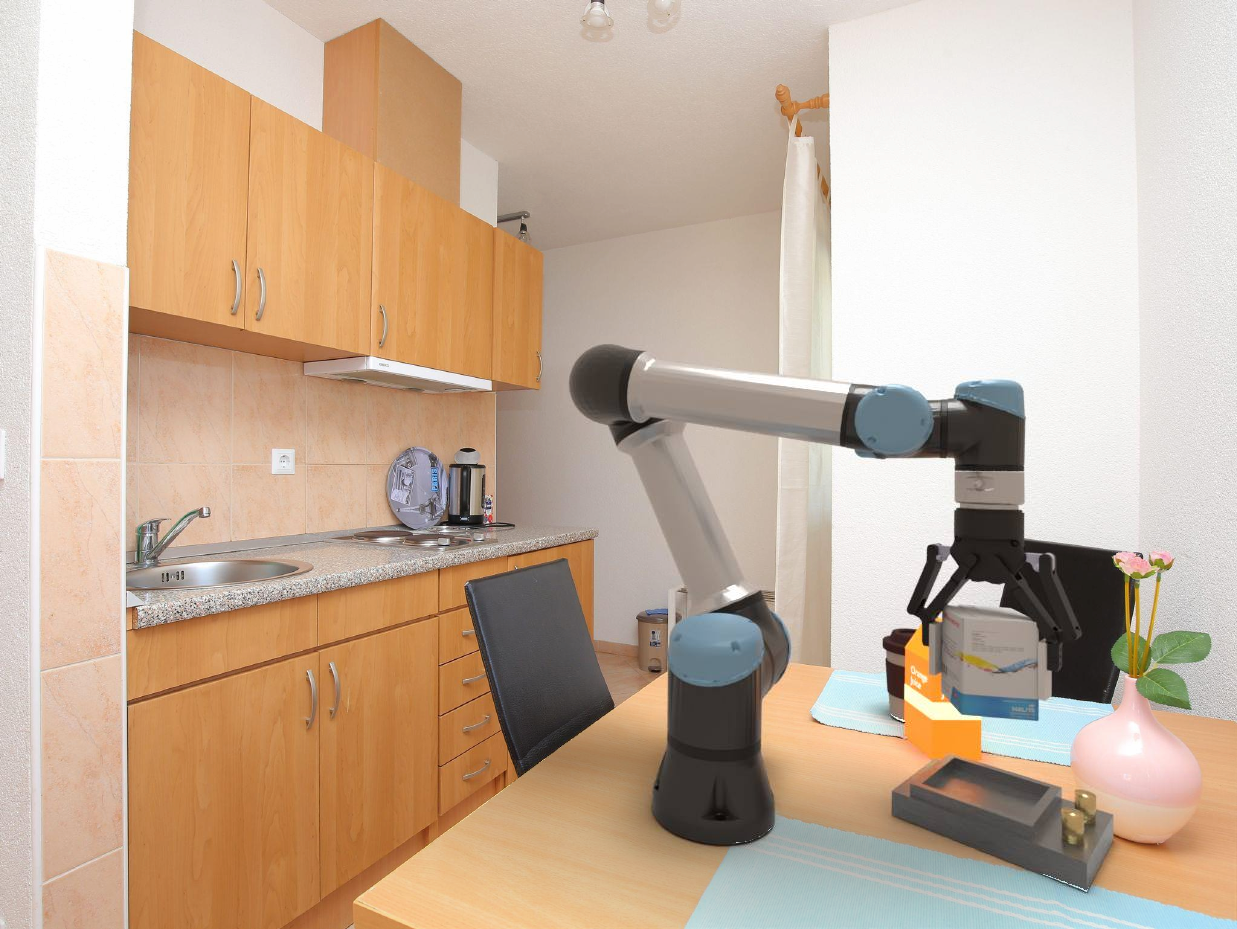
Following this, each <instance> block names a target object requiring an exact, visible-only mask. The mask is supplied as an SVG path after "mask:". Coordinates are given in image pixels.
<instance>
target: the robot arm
mask: <svg viewBox="0 0 1237 929" xmlns="http://www.w3.org/2000/svg"><path fill="white" fill-rule="evenodd" d="M568 379H569V380H568V388H569V390H568V391H569V394H570V398H571V401H572V403H573V404H574V407H575V408H576V409H577V410H578V411H579V412H580V414H582V415H583V416H584V417H585V418H586V419H589V420H590V421H592V422H594V423H598V424H601V425H605V426H608V428H609V429H608V430H609V431H610V434H611V436H612V439H613V441H614V443H615V446H616V449H617V450H618V452H621V453H622V454H626V455H628V456H629V457H631V458H632V462H633V464H634V467H635V469H636V471H637V473H638V476H639V478H640V481H641V483H642V486H643V489H644V491H645V493H646V495H647V497H648V501H649V503H650V505H651V507H652V510H653V512H654V514H655V517H656V519H657V522H658V525H659V528H660V529H661V531H662V534H663V536H664V539H665V542H666V543H667V546H668V548H669V551H670V553H671V556H672V559H673V561H674V564H675V567H676V568H677V571H678V574H679V575H680V578H681V580H682V583H683V585H684V588H685V590H686V592H687V595H688V597H689V599H690V607H689V609H688V612H687V614H686V617H685V618H683V619H681V620H680V621H678V622H677V623H676V624H675V625H674V626H673V627H672V629H671V631H670V632H669V633H670V634H669V640H668V647H667V651H666V652H667V653H666V660H667V710H666V711H667V715H666V716H667V719H666V720H667V722H666V725H667V726H666V728H667V731H666V732H667V734H666V735H667V737H666V747H665V750H664V753H663V756H662V760H661V762H660V765H659V768H658V771H657V775H656V779H654V782H653V786H652V794H651V798H652V799H651V800H652V801H651V809H652V813H653V816H654V817H655V819H656V820H657V822H658V823H659V824H660V825H661V826H662V827H663V828H665V829H667V830H668V831H670V832H671V833H673V834H676V835H677V836H679V837H682V838H685V839H688V840H691V841H695V842H700V843H704V844H711V845H734V844H733V843H736V842H745V841H749V842H751V841H750V840H752V839H755V840H757V839H756V838H758V837H759V836H762V835H763V834H764V833H766V832H767V831H768V830H769V829H770V828H771V827H772V826H773V827H774V825H775V824H774V823H775V820H776V802H775V800H776V799H775V795H774V793H773V790H772V787H771V783H770V781H769V777H768V774H767V773H768V772H767V769H766V766H765V763H764V759H763V755H762V725H763V724H762V714H763V699H764V698H765V696H766V695H767V694H768V693H769V692H770V691H771V689H772V688H773V687H774V686H775V685H777V684H778V683H779V682H780V681H781V679H782V677H783V676H784V675H785V673H786V671H787V669H788V665H789V662H790V658H791V653H792V642H791V641H792V640H791V637H790V633H789V630H788V628H787V626H786V624H785V622H784V621H783V620H782V618H781V617H780V616H779V615H778V614H777V613H776V612H774V611H773V610H772V609H770V608H769V605H768V603H767V601H766V599H765V597H764V594H763V592H762V590H761V588H760V587H759V586H758V585H755V584H752V583H750V582H748V581H747V580H746V579H745V576H744V574H743V572H742V570H741V567H740V565H739V562H738V561H737V558H736V555H735V553H734V551H733V549H732V546H731V544H730V542H729V539H728V537H727V534H726V533H725V530H724V528H723V525H722V524H721V520H720V519H719V516H718V513H717V511H716V509H715V507H714V505H713V502H712V500H711V498H710V495H709V493H708V490H707V489H706V488H707V487H705V484H704V482H703V479H702V476H701V474H700V473H699V470H698V467H697V465H696V463H695V461H694V459H693V456H692V454H691V452H690V449H689V447H688V445H687V442H686V440H685V438H684V436H683V433H684V431H685V428H686V426H687V423H688V424H693V425H699V426H706V427H713V428H719V429H725V430H731V431H738V432H745V433H751V434H752V433H753V434H758V435H764V436H771V437H777V438H782V439H783V438H784V439H789V440H797V441H803V442H809V443H814V444H821V445H822V444H823V445H829V446H834V447H841V448H846V449H850V450H854V453H855V454H856V456H857V457H860V458H865V459H866V458H867V459H876V460H886V459H937V458H938V459H954V502H955V503H956V504H959V507H955V509H954V510H953V519H954V520H953V542H952V544H951V545H945V544H944V545H943V544H941V543H940V542H939V543H938V542H937V543H932V544H928V546H926V561H925V564H924V566H923V568H922V571H921V573H920V576H919V578H918V581H917V584H916V585H915V588H914V590H913V593H912V595H911V597H910V599H909V602H908V604H907V607H906V612H907V614H909V615H911V616H915V617H916V618H918V619H919V620H920V621H921V623H922V644H923V646H927V647H929V675H933V676H935V675H937V674H939V673H941V650H942V621H936V619H937V618H939V616H940V614H942V610H943V607H944V606H945V605H949V603H950V602H951V601H952V600H953V599H954V597H955V596H956V595H957V594H958V593H959V592H960V590H962V588H963V587H964V586H965V585H966V583H968V581H971V582H974V583H983V582H987V583H990V584H992V585H1005V586H1006V588H1007V589H1008V590H1009V591H1010V592H1011V593H1012V594H1013V595H1014V597H1015V598H1016V600H1017V601H1018V602H1019V603H1020V605H1021V607H1022V608H1023V609H1024V611H1025V612H1026V613H1027V616H1028V617H1030V618H1031V619H1032V621H1033V622H1036V626H1037V628H1038V629H1039V633H1040V634H1041V635H1042V637H1043V639H1041V640H1039V642H1038V699H1039V701H1044V702H1045V701H1047V700H1049V699H1050V697H1052V692H1053V691H1052V685H1053V683H1052V682H1053V681H1052V680H1053V679H1052V678H1053V677H1052V672H1055V673H1058V672H1059V671H1060V670H1061V669H1062V666H1063V643H1064V642H1074V641H1077V640H1078V639H1079V638H1081V636H1082V635H1083V631H1082V630H1081V627H1080V625H1079V622H1078V619H1077V617H1076V615H1075V613H1074V610H1073V608H1072V606H1071V603H1070V601H1069V599H1068V596H1067V594H1066V591H1065V589H1064V587H1063V584H1062V582H1061V580H1060V578H1059V576H1058V573H1057V556H1056V554H1054V553H1053V552H1046V553H1037V552H1036V553H1035V552H1028V550H1027V549H1026V546H1025V512H1024V511H1023V510H1022V509H1020V507H1019V506H1023V505H1024V504H1025V499H1026V498H1025V456H1026V455H1025V454H1026V452H1025V451H1026V447H1025V446H1026V421H1027V420H1026V419H1027V417H1026V415H1025V414H1026V412H1025V411H1026V410H1025V395H1024V393H1025V392H1024V388H1023V386H1022V385H1021V384H1020V383H1019V382H1017V381H1015V380H1010V379H997V378H996V379H980V380H979V379H978V380H971V381H965V382H961V383H959V384H957V385H956V387H955V390H954V394H953V397H951V398H946V399H945V398H944V399H927V398H926V397H925V396H924V395H923V394H922V393H921V392H920V391H918V390H915V389H914V388H913V387H911V386H908V385H904V384H898V383H889V384H884V385H883V384H882V385H875V384H873V385H872V384H864V383H862V384H861V383H853V382H847V381H839V380H831V379H820V378H815V377H805V376H797V375H795V376H794V375H789V374H788V375H787V374H781V373H770V372H762V371H753V370H743V369H737V368H727V367H718V366H709V365H702V364H701V365H700V364H692V363H683V362H675V361H667V360H660V359H659V357H657V355H656V354H655V353H654V352H652V351H648V350H641V349H633V348H628V347H624V346H621V345H619V344H613V343H612V344H611V343H607V344H606V343H605V344H598V345H595V346H593V347H591V348H589V349H587V350H585V351H584V352H583V353H582V354H581V355H580V356H578V358H577V359H576V360H575V362H574V364H573V366H572V367H571V370H570V374H569V378H568ZM949 556H951V558H952V559H953V561H954V562H955V564H956V565H957V566H958V567H957V568H956V569H955V571H954V572H953V573H952V575H950V578H949V580H948V581H947V582H946V583H945V584H944V586H942V588H941V590H939V592H938V593H937V595H936V596H935V597H934V598H933V599H932V601H931V602H930V603H929V604H928V605H927V607H925V606H926V603H927V601H928V598H929V596H930V594H931V592H932V590H933V587H934V584H935V582H936V580H937V578H938V576H939V573H940V571H941V568H942V565H943V563H944V562H945V561H947V560H948V557H949ZM1027 563H1029V564H1030V565H1031V566H1032V569H1033V570H1034V571H1035V572H1037V573H1038V575H1039V578H1040V579H1039V580H1040V581H1041V584H1042V587H1043V588H1044V591H1045V592H1046V593H1045V594H1046V596H1047V598H1048V600H1049V603H1050V605H1051V608H1052V610H1053V612H1054V614H1055V617H1056V620H1057V622H1058V624H1059V626H1060V628H1059V626H1058V625H1057V624H1056V623H1055V621H1054V619H1053V618H1052V617H1051V615H1050V614H1049V612H1048V611H1047V610H1046V609H1045V607H1044V606H1043V605H1042V603H1041V602H1040V600H1039V599H1038V598H1037V597H1038V596H1036V595H1035V593H1034V592H1033V590H1032V589H1031V588H1030V586H1029V585H1028V582H1027V580H1026V579H1025V577H1024V575H1022V572H1020V571H1021V570H1022V568H1023V567H1025V565H1026V564H1027ZM773 824H774V825H773ZM773 827H772V828H773ZM772 828H771V829H772ZM771 829H770V830H771ZM767 833H768V832H767ZM767 833H766V834H767ZM763 836H764V835H763ZM763 836H762V837H763ZM758 839H759V838H758ZM752 841H753V840H752ZM745 843H746V842H745Z"/></svg>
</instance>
